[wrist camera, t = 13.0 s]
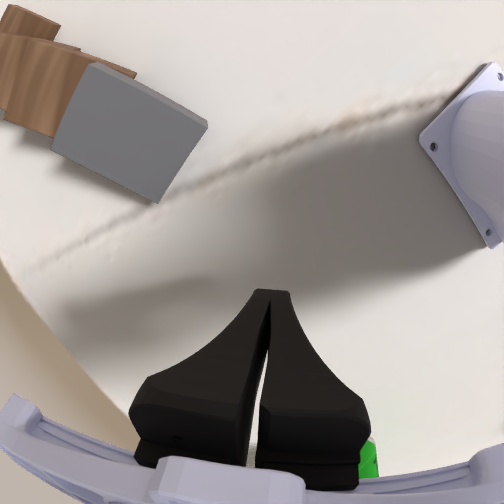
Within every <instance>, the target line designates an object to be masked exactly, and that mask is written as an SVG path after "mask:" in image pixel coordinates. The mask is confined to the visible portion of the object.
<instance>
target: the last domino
mask: <svg viewBox="0 0 504 504" xmlns="http://www.w3.org/2000/svg"><path fill="white" fill-rule="evenodd" d="M60 27H61V25H59V24H57V23H55V22H53V21H51V20H49V19H47V18H45V17H42V16H40V15H38V14H36V13H34V12H31V11H29V10H27V9H25V8H22V7H20V6H17V5H11V4H8V6H7V8H6V10H5V12H4V14H3V16H2V18H1V21H0V32H10V33H16V34H21V35H26V36H31V37H36V38H41V39H45V40H49V41H53V40H54V38H55V36H56V34H57V33H58V31H59V29H60Z"/></svg>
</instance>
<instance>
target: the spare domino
mask: <svg viewBox="0 0 504 504" xmlns="http://www.w3.org/2000/svg"><path fill="white" fill-rule="evenodd" d="M207 129H208V125H207V120H205V119H203V118H202V117H200V116H198V115H197V114H195V113H193V112H192V111H190V110H188V109H186V108H185V107H183V106H181V105H179V104H178V103H176V102H174V101H172V100H171V99H169V98H167V97H165V96H164V95H162V94H160V93H158V92H156V91H154V90H153V89H151V88H149V87H147V86H145V85H143V84H141V83H139V82H138V81H136V80H134V79H132V78H130V77H128V76H126V75H124V74H122V73H120V72H118V71H116V70H114V69H112V68H110V67H108V66H106V65H104V64H102V63H100V62H95V63H91V64H88V66H87V68H86V70H85V72H84V73H83V75H82V77H81V79H80V81H79V83H78V85H77V87H76V89H75V91H74V93H73V95H72V97H71V100H70V102H69V104H68V106H67V108H66V111H65V113H64V115H63V117H62V120H61V122H60V125H59V127H58V129H57V132H56V134H55V137H54V140H53V142H52V145H51V148H50V150H52V151H54V152H56V153H58V154H60V155H62V156H64V157H66V158H68V159H70V160H72V161H74V162H76V163H78V164H80V165H82V166H84V167H86V168H88V169H90V170H92V171H94V172H96V173H98V174H100V175H102V176H104V177H106V178H107V179H109V180H111V181H113V182H115V183H117V184H119V185H121V186H123V187H125V188H127V189H129V190H131V191H133V192H135V193H137V194H139V195H141V196H143V197H145V198H147V199H149V200H151V201H153V202H155V203H157V204H158V203H159V201H160V200H161V198H162V196H163V195H164V193H165V191H166V190H167V188H168V187H169V185H170V184H171V182H172V180H173V179H174V177H175V176H176V174H177V173H178V171H179V170H180V168H181V167H182V165H183V163H184V162H185V160H186V159H187V157H188V156H189V155H190V153H191V152H192V150H193V149H194V147H195V146H196V144H197V143H198V141H199V140H200V139H201V137H202V136H203V134H204V133H205V131H206V130H207Z"/></svg>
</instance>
